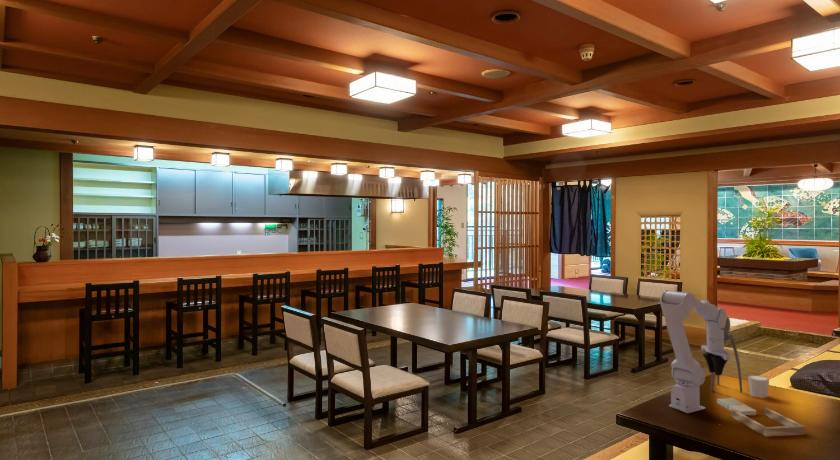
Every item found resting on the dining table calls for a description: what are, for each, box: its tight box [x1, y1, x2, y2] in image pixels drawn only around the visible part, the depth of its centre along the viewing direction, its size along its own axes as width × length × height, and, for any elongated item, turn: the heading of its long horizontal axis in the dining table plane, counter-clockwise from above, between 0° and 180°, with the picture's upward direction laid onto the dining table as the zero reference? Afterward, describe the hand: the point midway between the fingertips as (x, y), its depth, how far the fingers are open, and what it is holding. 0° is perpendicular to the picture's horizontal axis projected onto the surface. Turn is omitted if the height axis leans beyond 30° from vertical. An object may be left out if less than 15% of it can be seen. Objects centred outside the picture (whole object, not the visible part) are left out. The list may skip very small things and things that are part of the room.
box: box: [730, 407, 807, 438], centre depth 170 cm, size 16×13×2 cm
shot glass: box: [747, 375, 770, 398], centre depth 197 cm, size 7×7×7 cm
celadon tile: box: [716, 397, 744, 410], centre depth 188 cm, size 6×6×2 cm
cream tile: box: [728, 403, 757, 416], centre depth 182 cm, size 6×6×2 cm
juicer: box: [710, 316, 743, 394], centre depth 206 cm, size 10×11×30 cm
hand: (715, 373), depth 196 cm, fingers open, 3 cm apart
